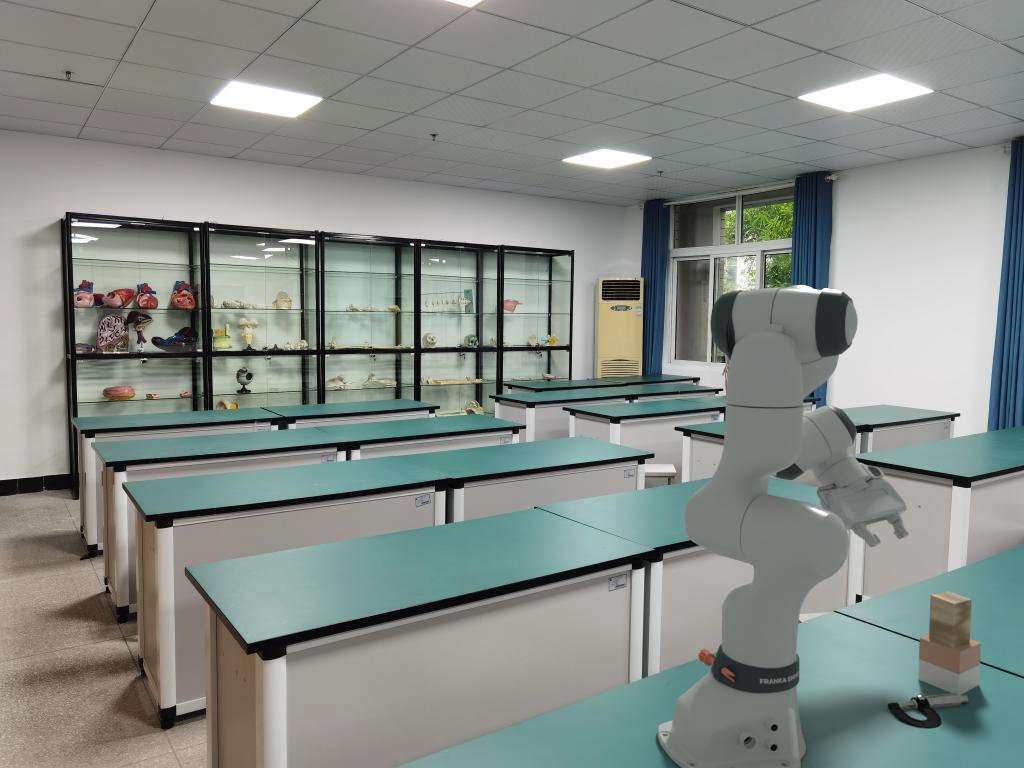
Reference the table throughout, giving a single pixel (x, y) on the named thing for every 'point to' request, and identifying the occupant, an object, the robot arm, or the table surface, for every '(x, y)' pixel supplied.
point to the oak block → (950, 619)
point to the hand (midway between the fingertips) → (890, 541)
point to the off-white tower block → (948, 678)
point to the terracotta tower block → (950, 655)
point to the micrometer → (926, 708)
